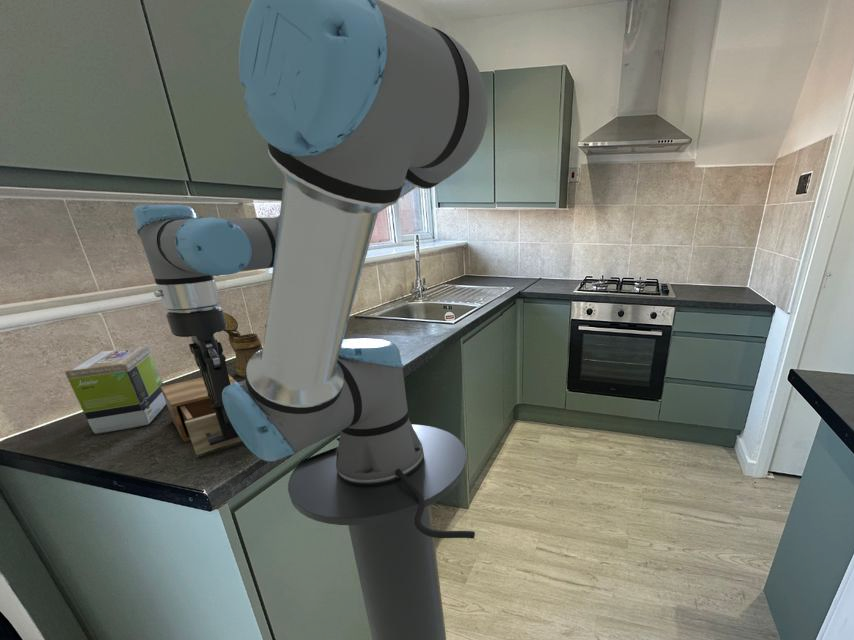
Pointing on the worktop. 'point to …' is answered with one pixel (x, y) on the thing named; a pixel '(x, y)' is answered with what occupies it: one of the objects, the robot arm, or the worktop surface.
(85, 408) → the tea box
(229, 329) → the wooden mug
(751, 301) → the worktop surface
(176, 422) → the cabinet
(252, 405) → the robot arm
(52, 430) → the worktop surface
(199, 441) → the drawer
